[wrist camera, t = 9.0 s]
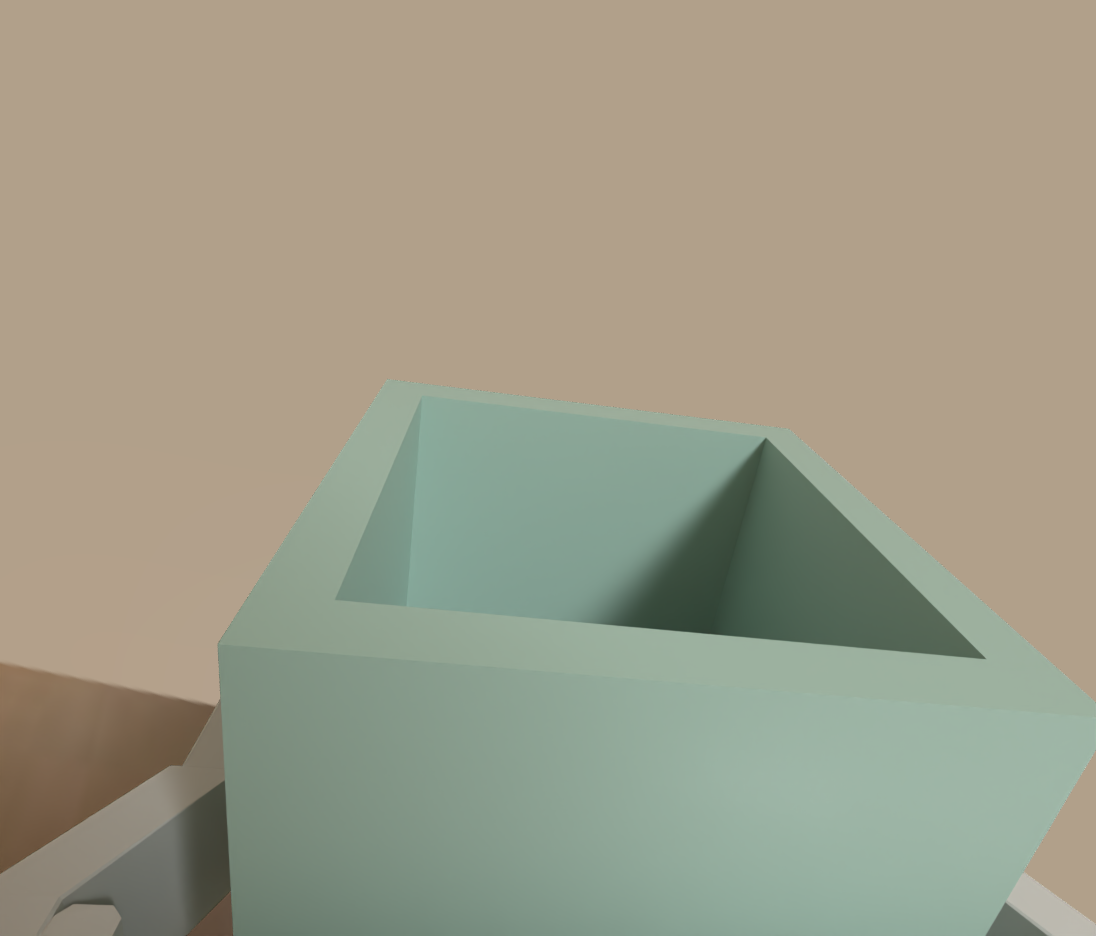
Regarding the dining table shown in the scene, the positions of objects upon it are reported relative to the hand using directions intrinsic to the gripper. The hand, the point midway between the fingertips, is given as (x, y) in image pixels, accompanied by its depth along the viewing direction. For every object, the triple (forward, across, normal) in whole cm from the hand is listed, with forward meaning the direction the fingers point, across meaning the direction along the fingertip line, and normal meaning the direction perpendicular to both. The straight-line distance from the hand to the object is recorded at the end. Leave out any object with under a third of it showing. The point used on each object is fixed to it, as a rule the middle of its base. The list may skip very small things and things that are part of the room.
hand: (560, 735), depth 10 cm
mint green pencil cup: (-1, 0, +6) cm, 6 cm away
